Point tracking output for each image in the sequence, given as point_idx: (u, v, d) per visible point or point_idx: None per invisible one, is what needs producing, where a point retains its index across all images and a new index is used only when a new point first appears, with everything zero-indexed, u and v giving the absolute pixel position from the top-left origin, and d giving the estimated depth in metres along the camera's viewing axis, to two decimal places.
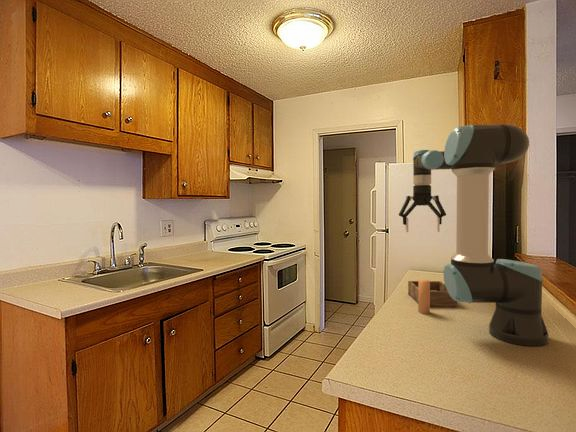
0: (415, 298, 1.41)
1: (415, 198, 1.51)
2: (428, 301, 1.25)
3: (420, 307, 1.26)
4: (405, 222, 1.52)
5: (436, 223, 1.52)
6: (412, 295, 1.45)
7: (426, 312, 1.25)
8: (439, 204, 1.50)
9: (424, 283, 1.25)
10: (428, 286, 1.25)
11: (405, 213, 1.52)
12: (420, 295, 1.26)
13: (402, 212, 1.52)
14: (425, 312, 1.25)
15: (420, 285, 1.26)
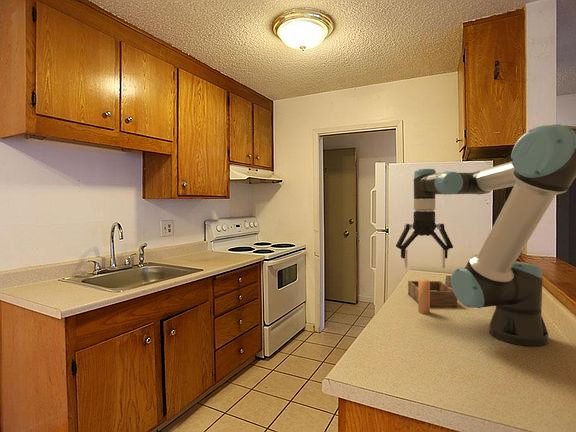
0: (415, 298, 1.41)
1: (416, 227, 1.25)
2: (428, 301, 1.25)
3: (420, 307, 1.26)
4: (403, 255, 1.26)
5: (441, 257, 1.26)
6: (412, 295, 1.45)
7: (426, 312, 1.25)
8: (445, 234, 1.24)
9: (424, 283, 1.25)
10: (428, 286, 1.25)
11: (404, 244, 1.27)
12: (420, 295, 1.26)
13: (400, 243, 1.26)
14: (425, 312, 1.25)
15: (420, 285, 1.26)
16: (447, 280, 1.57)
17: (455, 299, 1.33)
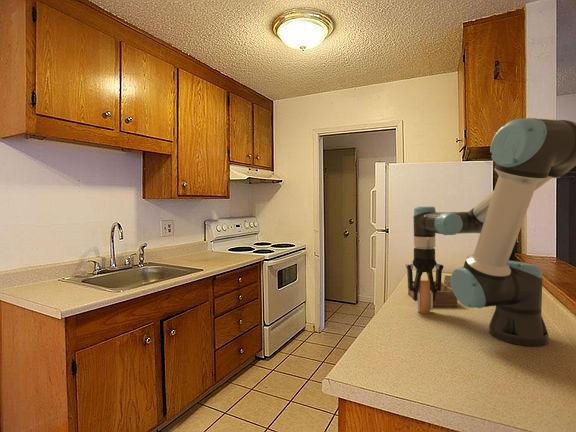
0: None
1: (416, 264, 1.26)
2: (428, 301, 1.25)
3: (420, 307, 1.26)
4: (416, 298, 1.26)
5: None
6: (412, 295, 1.45)
7: (426, 312, 1.25)
8: (439, 276, 1.25)
9: (424, 283, 1.25)
10: (428, 286, 1.25)
11: (414, 287, 1.27)
12: (420, 295, 1.26)
13: (411, 286, 1.26)
14: (425, 312, 1.25)
15: (420, 285, 1.26)
16: (446, 280, 1.57)
17: (455, 299, 1.33)
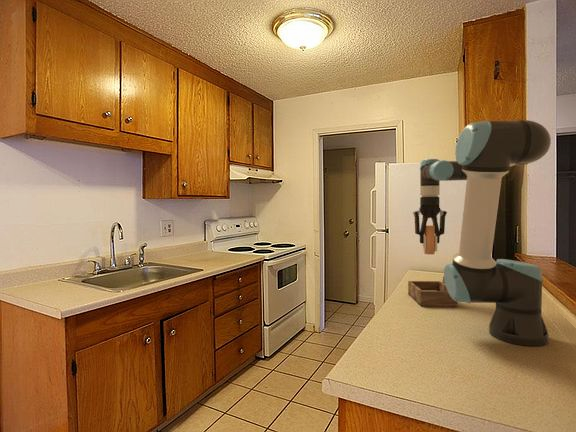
0: (415, 298, 1.41)
1: (423, 210, 1.42)
2: (433, 243, 1.42)
3: (426, 249, 1.43)
4: (422, 241, 1.43)
5: None
6: (412, 295, 1.45)
7: (431, 253, 1.42)
8: (443, 220, 1.41)
9: (429, 227, 1.41)
10: (433, 230, 1.42)
11: (421, 231, 1.43)
12: (426, 238, 1.42)
13: (418, 230, 1.42)
14: (430, 253, 1.42)
15: (426, 229, 1.42)
16: (444, 280, 1.57)
17: None
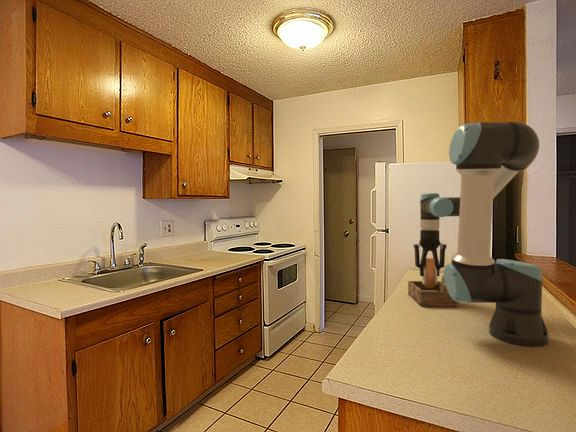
0: (415, 298, 1.41)
1: (423, 244, 1.43)
2: (433, 276, 1.42)
3: (426, 282, 1.43)
4: (422, 274, 1.44)
5: None
6: (412, 295, 1.45)
7: (431, 286, 1.42)
8: (443, 254, 1.42)
9: (429, 260, 1.42)
10: (433, 263, 1.42)
11: (421, 264, 1.44)
12: (426, 271, 1.43)
13: (418, 263, 1.43)
14: (430, 286, 1.42)
15: (426, 262, 1.43)
16: (443, 280, 1.57)
17: None
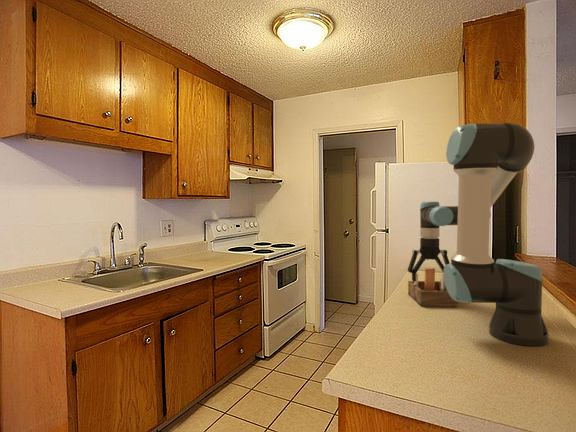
0: (415, 298, 1.41)
1: (422, 252, 1.43)
2: (433, 286, 1.43)
3: None
4: (414, 279, 1.44)
5: (442, 280, 1.44)
6: (412, 295, 1.45)
7: None
8: (446, 260, 1.42)
9: (430, 270, 1.42)
10: (433, 273, 1.42)
11: (414, 269, 1.44)
12: (426, 281, 1.43)
13: (411, 268, 1.43)
14: None
15: (426, 272, 1.43)
16: None
17: None
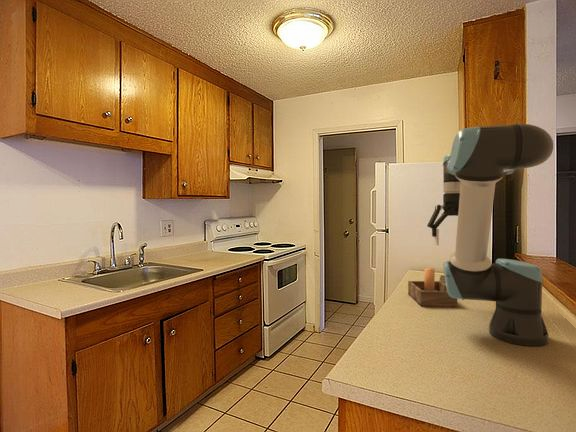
0: (415, 298, 1.41)
1: (446, 207, 1.37)
2: (433, 286, 1.43)
3: None
4: (435, 234, 1.37)
5: None
6: (412, 295, 1.45)
7: None
8: None
9: (429, 270, 1.42)
10: (433, 273, 1.42)
11: (435, 224, 1.38)
12: (426, 281, 1.43)
13: (432, 223, 1.37)
14: None
15: (426, 272, 1.43)
16: (441, 280, 1.57)
17: (455, 299, 1.33)
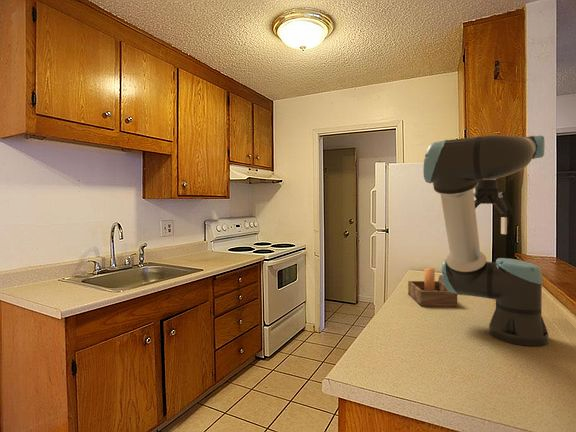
0: (415, 298, 1.41)
1: (478, 195, 1.31)
2: (433, 286, 1.43)
3: None
4: None
5: (502, 224, 1.32)
6: (412, 295, 1.45)
7: None
8: (507, 202, 1.30)
9: (429, 270, 1.42)
10: (433, 273, 1.42)
11: None
12: (426, 281, 1.43)
13: None
14: None
15: (426, 272, 1.43)
16: (440, 280, 1.57)
17: (455, 299, 1.33)
